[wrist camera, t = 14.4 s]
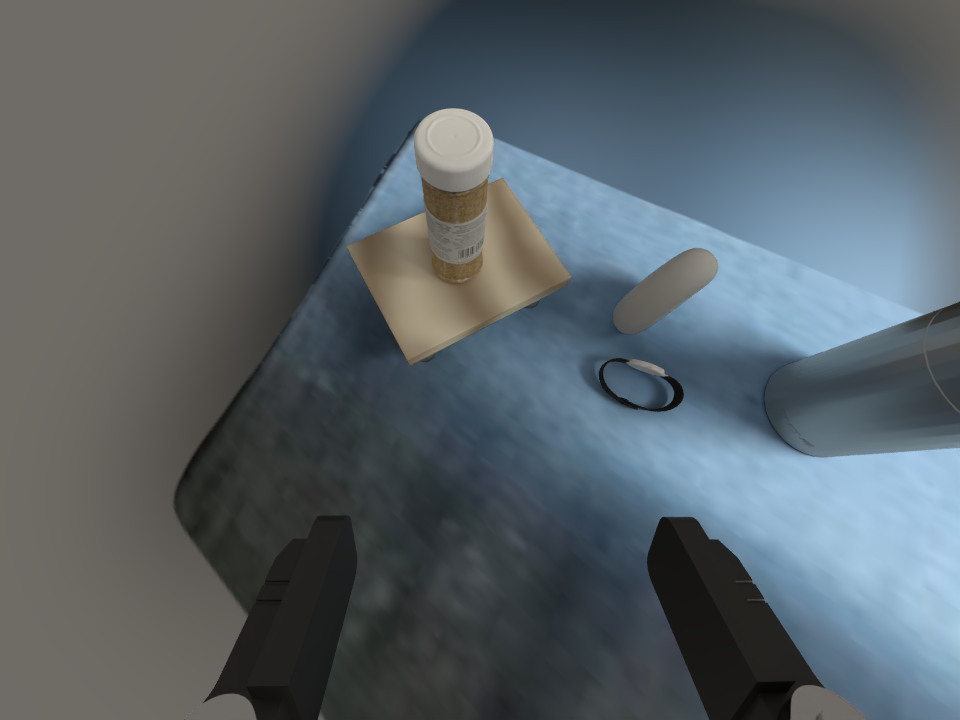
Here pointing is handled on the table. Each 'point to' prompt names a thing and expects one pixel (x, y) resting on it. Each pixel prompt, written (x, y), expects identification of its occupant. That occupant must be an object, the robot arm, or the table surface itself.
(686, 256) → the donut
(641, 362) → the watch
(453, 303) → the small wooden stool
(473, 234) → the sprinkles bottle
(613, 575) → the table surface
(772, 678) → the robot arm
